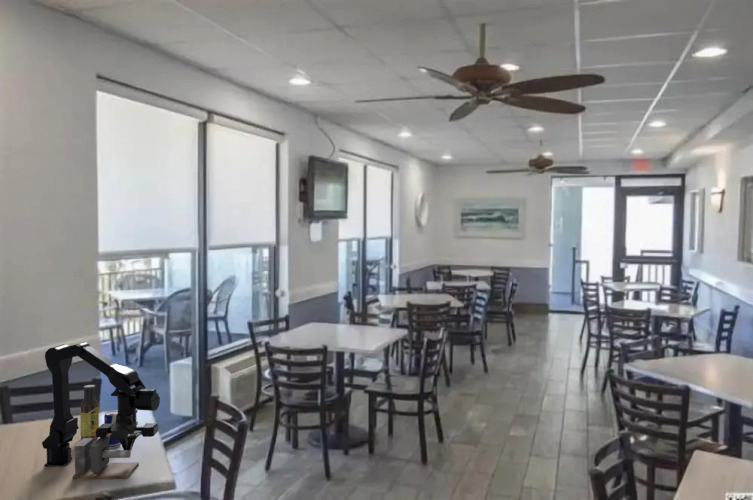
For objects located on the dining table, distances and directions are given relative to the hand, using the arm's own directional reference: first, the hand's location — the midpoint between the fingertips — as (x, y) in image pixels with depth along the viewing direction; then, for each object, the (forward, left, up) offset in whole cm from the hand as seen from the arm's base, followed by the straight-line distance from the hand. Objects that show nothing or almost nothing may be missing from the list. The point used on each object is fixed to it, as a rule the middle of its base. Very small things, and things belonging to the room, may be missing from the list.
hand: (128, 455), depth 209 cm
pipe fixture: (-6, -3, -4) cm, 8 cm away
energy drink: (-13, +21, -5) cm, 25 cm away
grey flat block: (-8, -3, -3) cm, 9 cm away
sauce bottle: (-24, +28, -5) cm, 37 cm away
